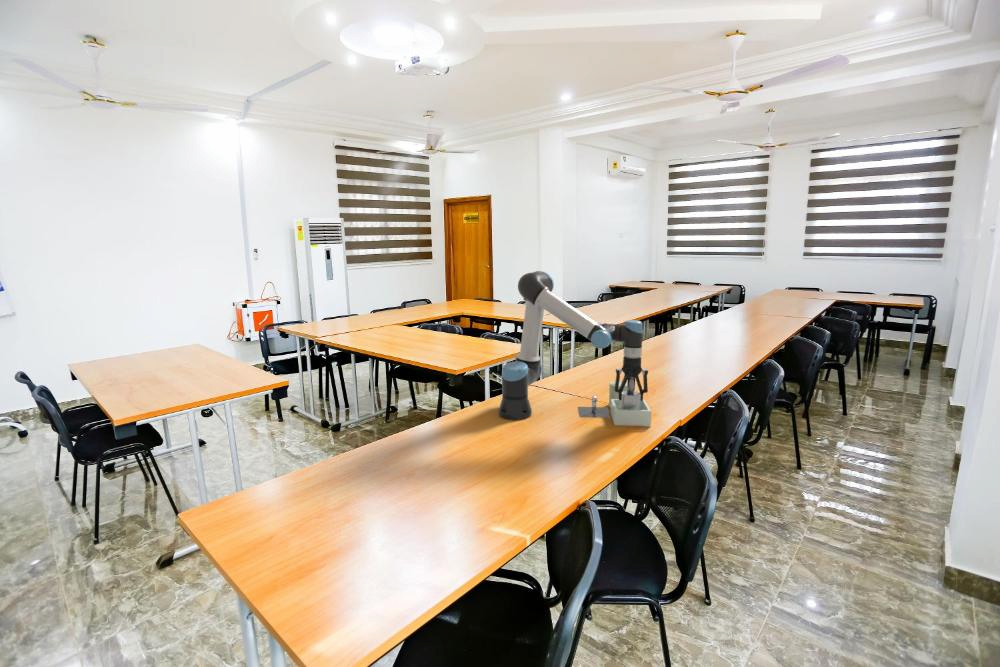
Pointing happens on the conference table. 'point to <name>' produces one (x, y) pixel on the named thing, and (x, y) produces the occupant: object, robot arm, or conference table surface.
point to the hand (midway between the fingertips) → (630, 407)
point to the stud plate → (594, 415)
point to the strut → (631, 396)
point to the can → (612, 391)
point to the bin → (631, 414)
